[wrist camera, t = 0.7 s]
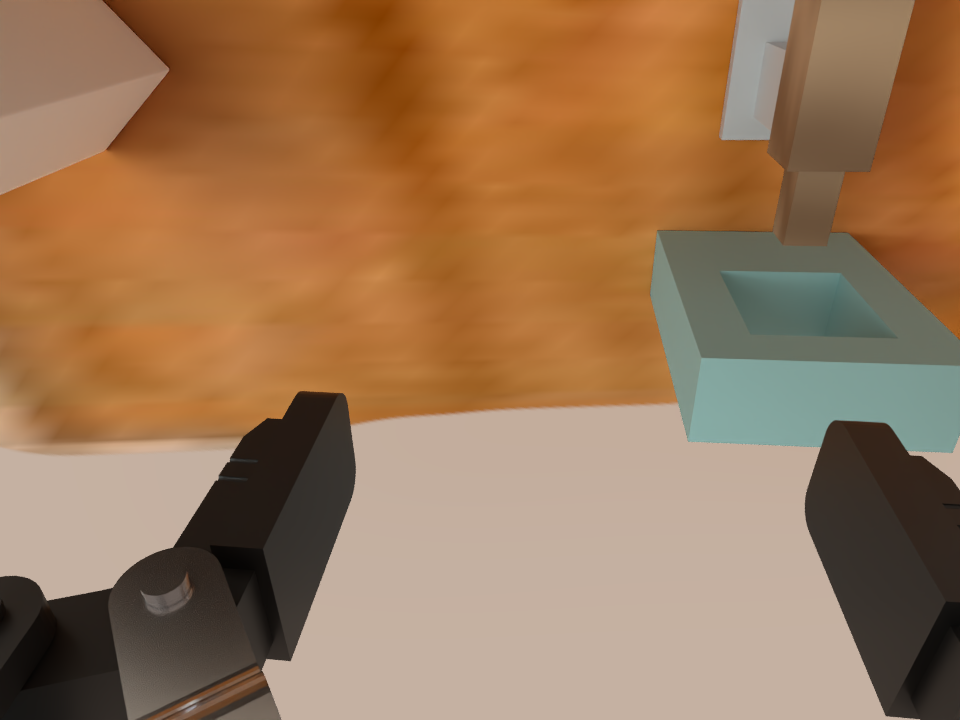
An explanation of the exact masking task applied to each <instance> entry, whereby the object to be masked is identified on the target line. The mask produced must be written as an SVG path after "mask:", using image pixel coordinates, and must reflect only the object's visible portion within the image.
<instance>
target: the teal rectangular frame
mask: <svg viewBox="0 0 960 720" xmlns="http://www.w3.org/2000/svg"><path fill="white" fill-rule="evenodd" d="M650 296H651V300H652V304H653V308H654V312H655V316H656V319H657V323H658V327H659V331H660V335H661V339H662V343H663V346H664V350H665V354H666V358H667V362H668V366H669V370H670V373H671V377H672V381H673V385H674V389H675V393H676V397H677V400H678V404H679V408H680V412H681V416H682V420H683V424H684V427H685V431H686V435H687V439H688V441H689V442H713V443H736V444H759V445H782V446H804V447H821V445H822V442H823V439H824V436H825V433H826V430H827V428H828V426H829V425H830V423H831V422H833V421H835V420H843V421H863V422H882V423H886V424H888V425H889V426H890V427H891V428H892V429H893V431H894V432H895V434H896V435H897V437H898V438H899V440H900V441H901V443H902V444H903V446H904V447H905V449H906V450H907V451H922V452H947V453H952V452H953V450H954V448H955V445H956V443H957V440H958V438H959V435H960V340H959V339H958V338H957V337H956V336H955V335H954V334H953V333H952V332H951V331H950V330H949V329H948V328H947V327H946V326H944V325H943V324H942V323H941V322H940V321H939V320H938V319H937V318H936V317H935V316H934V315H933V314H932V313H931V312H930V311H929V310H928V309H927V308H926V307H925V306H924V305H923V304H922V303H921V302H920V301H919V300H917V299H916V298H915V297H914V296H913V295H912V294H911V293H910V292H909V291H908V290H907V289H906V288H905V287H904V286H903V285H902V284H901V283H900V282H899V281H898V280H897V279H896V278H895V277H894V276H893V275H891V274H890V273H889V272H888V271H887V270H886V269H885V268H884V267H883V266H882V265H881V264H880V263H879V262H878V261H877V260H876V259H875V258H874V257H873V256H872V255H871V254H870V253H869V252H868V251H867V250H865V249H864V248H863V247H862V246H861V245H860V244H859V243H858V242H857V241H856V240H855V239H854V238H853V237H852V236H851V235H850V234H849V233H830V235H829V240H828V244H827V246H783V245H782V243H781V242H780V241H779V239H778V238H777V237H776V235H775V234H774V233H773V232H737V231H657V238H656V247H655V256H654V265H653V274H652V283H651V292H650Z"/></svg>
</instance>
